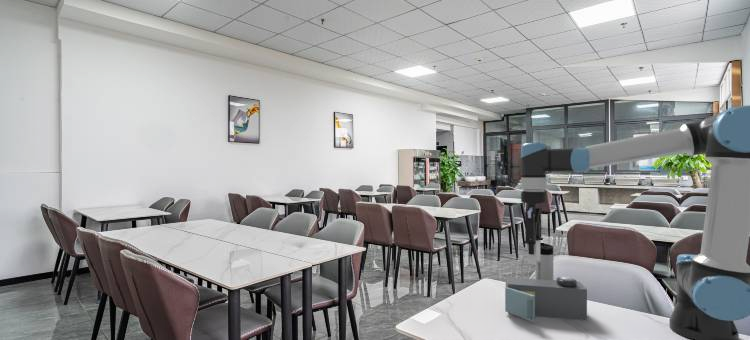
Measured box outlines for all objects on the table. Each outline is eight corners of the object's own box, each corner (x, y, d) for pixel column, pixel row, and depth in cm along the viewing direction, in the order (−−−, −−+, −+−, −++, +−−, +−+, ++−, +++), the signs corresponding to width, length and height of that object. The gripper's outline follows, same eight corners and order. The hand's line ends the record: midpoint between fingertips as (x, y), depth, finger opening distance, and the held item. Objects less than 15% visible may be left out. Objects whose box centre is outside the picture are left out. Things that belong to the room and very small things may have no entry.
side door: (503, 312, 121) (503, 288, 121) (507, 310, 122) (507, 287, 122) (531, 322, 112) (531, 296, 112) (534, 320, 114) (534, 295, 114)
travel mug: (549, 293, 140) (549, 242, 140) (556, 299, 134) (556, 246, 134) (532, 293, 141) (532, 242, 141) (538, 299, 134) (538, 246, 134)
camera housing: (579, 310, 124) (579, 275, 123) (587, 320, 116) (586, 283, 116) (505, 304, 130) (505, 271, 130) (508, 313, 122) (507, 277, 122)
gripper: (527, 188, 126) (527, 254, 126) (514, 191, 111) (514, 266, 111) (551, 189, 122) (551, 257, 122) (540, 192, 107) (541, 270, 107)
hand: (533, 261), depth 117 cm, fingers open, 5 cm apart
